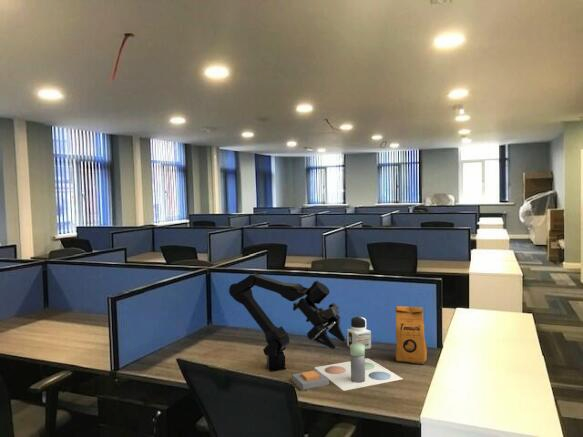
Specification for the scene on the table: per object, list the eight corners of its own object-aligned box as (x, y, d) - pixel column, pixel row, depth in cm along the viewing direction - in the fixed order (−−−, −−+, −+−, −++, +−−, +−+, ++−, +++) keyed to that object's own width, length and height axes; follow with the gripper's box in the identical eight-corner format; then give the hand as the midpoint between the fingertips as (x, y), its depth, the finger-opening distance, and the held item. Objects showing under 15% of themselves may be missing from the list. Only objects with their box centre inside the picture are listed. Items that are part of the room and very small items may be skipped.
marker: (355, 383, 167) (354, 348, 166) (348, 378, 172) (347, 344, 171) (368, 381, 169) (367, 346, 168) (360, 376, 174) (360, 342, 173)
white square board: (343, 392, 161) (343, 390, 161) (314, 369, 184) (314, 367, 184) (403, 381, 170) (403, 378, 170) (368, 360, 192) (368, 357, 192)
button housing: (303, 391, 163) (302, 384, 163) (292, 381, 173) (292, 374, 173) (329, 386, 167) (329, 379, 167) (317, 376, 176) (317, 370, 176)
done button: (306, 383, 167) (306, 377, 166) (301, 378, 171) (301, 372, 171) (319, 381, 168) (319, 375, 168) (313, 376, 173) (313, 370, 173)
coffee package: (425, 366, 184) (425, 310, 183) (393, 363, 188) (392, 308, 187) (428, 358, 193) (428, 304, 192) (397, 355, 198) (397, 302, 197)
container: (356, 351, 204) (355, 321, 203) (347, 345, 211) (346, 317, 211) (371, 348, 207) (371, 318, 207) (361, 343, 214) (361, 314, 214)
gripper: (314, 303, 166) (344, 338, 162) (335, 292, 183) (363, 324, 178) (294, 323, 170) (323, 357, 166) (317, 311, 187) (343, 342, 182)
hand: (339, 344), depth 173 cm, fingers open, 9 cm apart
